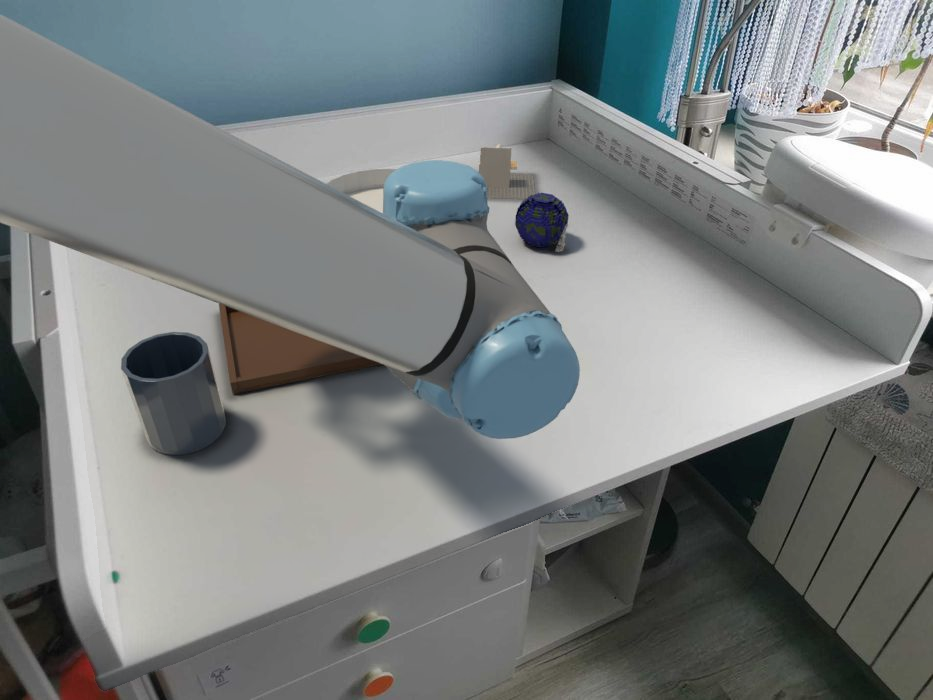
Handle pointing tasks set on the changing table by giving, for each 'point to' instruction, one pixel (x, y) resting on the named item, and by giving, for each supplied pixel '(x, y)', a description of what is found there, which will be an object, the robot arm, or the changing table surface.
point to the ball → (542, 221)
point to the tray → (277, 353)
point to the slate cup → (174, 392)
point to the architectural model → (503, 175)
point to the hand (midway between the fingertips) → (260, 213)
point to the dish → (364, 186)
